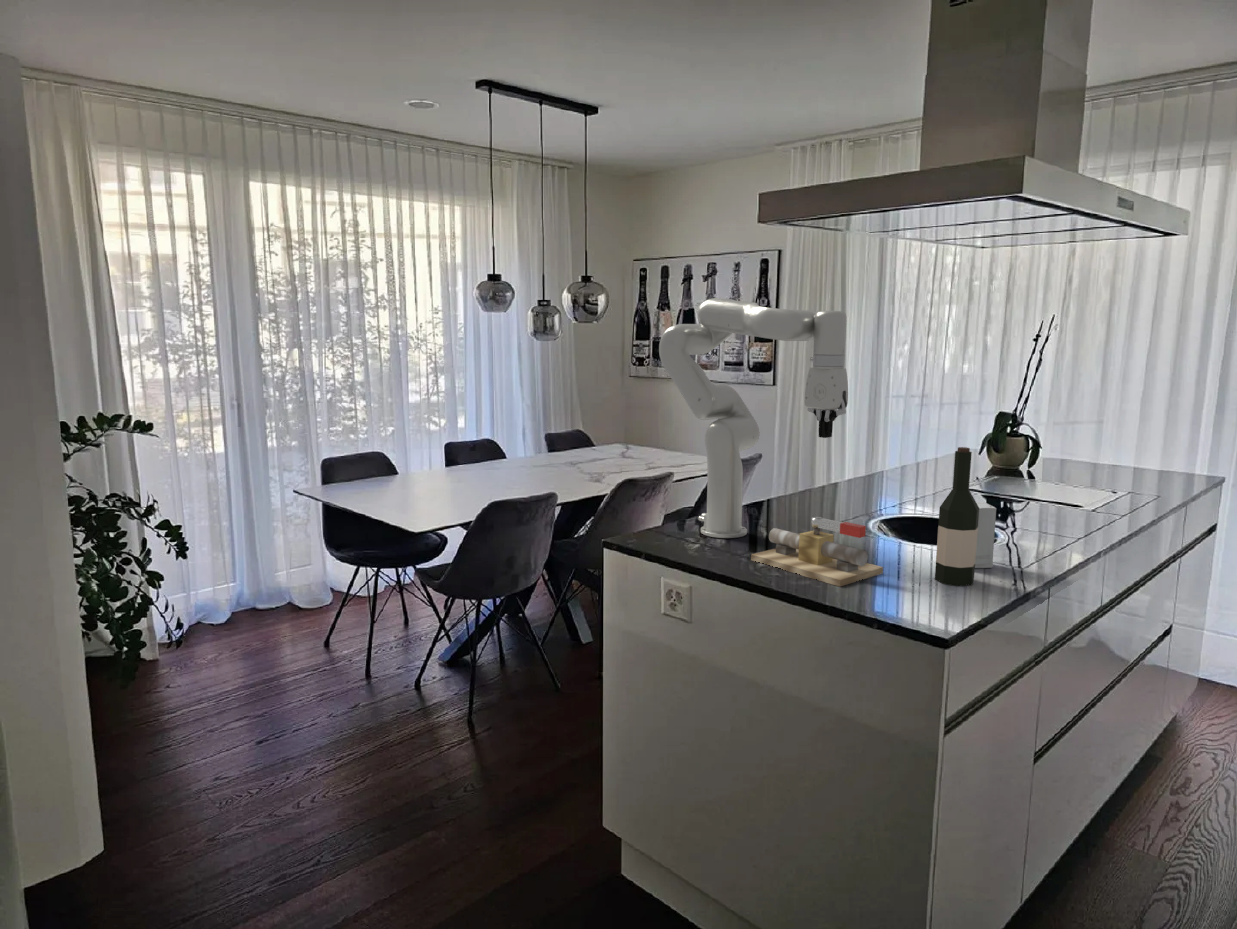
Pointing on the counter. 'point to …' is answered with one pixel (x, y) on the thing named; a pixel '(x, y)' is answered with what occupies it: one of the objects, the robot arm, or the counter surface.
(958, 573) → the wine bottle
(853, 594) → the counter surface
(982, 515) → the skincare box
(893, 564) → the counter surface
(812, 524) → the valve lever
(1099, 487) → the counter surface
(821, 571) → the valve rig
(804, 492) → the counter surface
